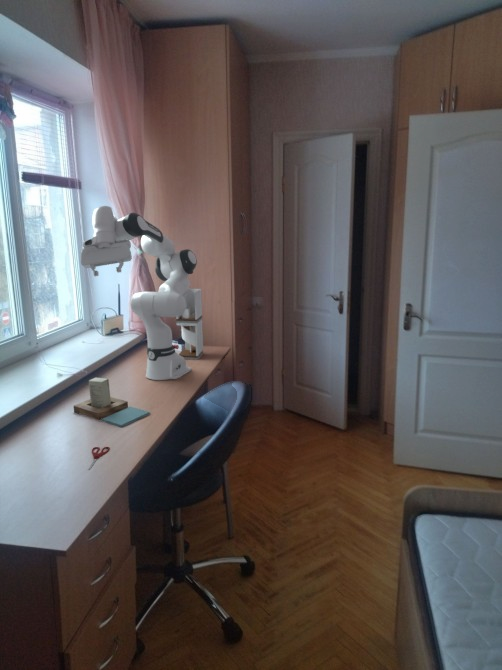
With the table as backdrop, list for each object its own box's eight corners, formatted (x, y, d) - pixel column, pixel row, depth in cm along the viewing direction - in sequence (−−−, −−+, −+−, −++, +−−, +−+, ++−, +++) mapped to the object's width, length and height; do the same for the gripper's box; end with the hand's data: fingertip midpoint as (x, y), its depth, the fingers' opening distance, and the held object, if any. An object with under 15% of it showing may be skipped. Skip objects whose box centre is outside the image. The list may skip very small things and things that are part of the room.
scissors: (110, 449, 155) (110, 446, 155) (98, 471, 142) (98, 468, 142) (93, 449, 155) (93, 446, 155) (79, 471, 142) (79, 468, 142)
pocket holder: (103, 400, 195) (102, 394, 195) (128, 407, 188) (127, 401, 187) (74, 411, 184) (73, 405, 183) (99, 420, 176) (98, 413, 176)
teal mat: (130, 408, 187) (130, 406, 187) (149, 413, 182) (149, 411, 182) (102, 420, 176) (101, 418, 176) (121, 427, 170) (121, 425, 170)
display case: (183, 353, 263) (181, 288, 255) (203, 353, 261) (201, 289, 253) (177, 359, 252) (175, 291, 244) (197, 359, 250) (196, 292, 242)
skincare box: (111, 408, 187) (109, 378, 184) (105, 412, 183) (102, 382, 180) (97, 406, 189) (95, 376, 186) (90, 410, 185) (88, 380, 182)
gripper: (132, 242, 203) (135, 272, 199) (84, 249, 203) (86, 280, 200) (127, 235, 197) (130, 266, 193) (78, 243, 197) (80, 274, 194)
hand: (107, 273), depth 196 cm, fingers open, 8 cm apart
